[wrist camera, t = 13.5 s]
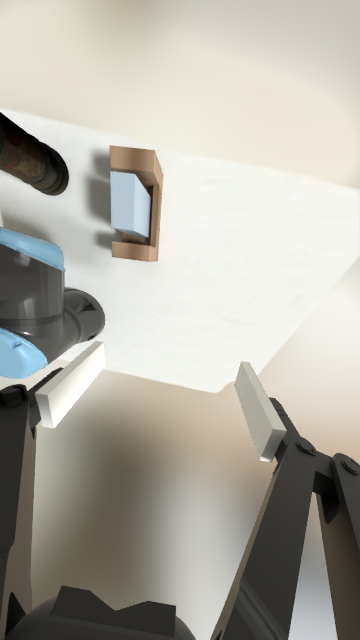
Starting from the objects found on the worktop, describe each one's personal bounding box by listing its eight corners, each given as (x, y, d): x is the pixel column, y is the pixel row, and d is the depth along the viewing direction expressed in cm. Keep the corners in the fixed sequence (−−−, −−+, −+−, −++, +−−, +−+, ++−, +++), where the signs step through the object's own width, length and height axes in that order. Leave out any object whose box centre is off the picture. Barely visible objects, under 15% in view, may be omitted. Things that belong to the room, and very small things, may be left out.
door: (133, 236, 41) (111, 227, 29) (134, 197, 38) (110, 171, 27) (150, 238, 41) (133, 230, 29) (152, 199, 38) (135, 174, 27)
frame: (127, 257, 43) (111, 256, 35) (128, 171, 37) (109, 145, 29) (157, 261, 43) (148, 261, 35) (163, 175, 37) (154, 150, 29)
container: (33, 192, 40) (-84, 143, 23) (28, 143, 37) (-110, 46, 20) (70, 200, 40) (-20, 157, 23) (69, 152, 37) (-36, 62, 20)
